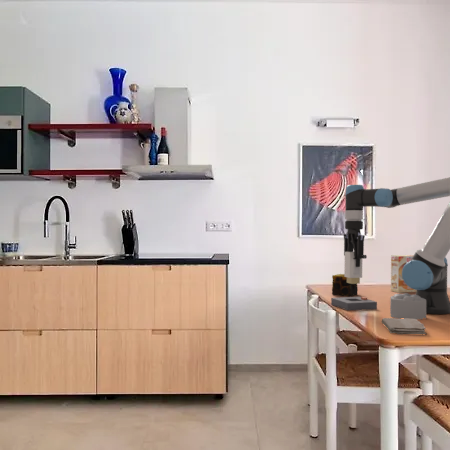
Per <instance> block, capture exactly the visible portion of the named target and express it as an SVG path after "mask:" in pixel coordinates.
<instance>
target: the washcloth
mask: <svg viewBox="0 0 450 450" xmlns="http://www.w3.org/2000/svg"><path fill="white" fill-rule="evenodd" d="M381 323H382V324H384V325H385V326H386V327H387V328H388V329H387V328H386V327H385V326H384V325H383V326H384V327H385V328H386V329H387V330H388V331H389V333H390V334H391V333H397V334H396V335H403V334H426V335H427V333H426V331H425V330H427V328H426V327H425V325H424V323H421V321H419V319H409V318H404V319H400V318H393V317H382V319H381Z"/></svg>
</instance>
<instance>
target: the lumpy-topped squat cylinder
mask: <svg viewBox="0 0 450 450" xmlns="http://www.w3.org/2000/svg"><path fill="white" fill-rule="evenodd" d="M389 304H390V308H389V309H390V313H389V314H391V315H390V318H393V317H394V319H395V318H396V319H400V318H409V319H416V320H424V319H423V318H425V319H427V313H426V299H424V298H421V297H420V296H418V295H416V294H410V293H409V292H404V293H395V294H393V295H391V296H390V303H389Z"/></svg>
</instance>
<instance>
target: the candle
mask: <svg viewBox="0 0 450 450" xmlns="http://www.w3.org/2000/svg"><path fill="white" fill-rule="evenodd" d="M331 278H332V287H331V294H332V295H334V296H341V297H354V296H356V295H358V291H359V289H358V288H359V287H358V284H350V283H347V277H344V273H340V274H339V273H337V274H334V275H333V274H332V277H331Z"/></svg>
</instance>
